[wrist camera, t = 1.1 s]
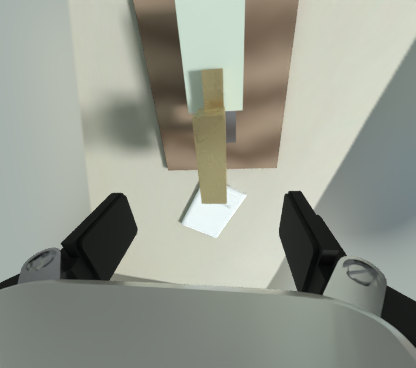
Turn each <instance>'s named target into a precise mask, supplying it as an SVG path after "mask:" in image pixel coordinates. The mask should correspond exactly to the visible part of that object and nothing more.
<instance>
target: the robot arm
mask: <svg viewBox="0 0 416 368" xmlns="http://www.w3.org/2000/svg"><path fill="white" fill-rule="evenodd" d="M136 234H137V226H136V223H135V220H134V217H133V214H132V211H131V208H130V206H129V203H128V200H127V197H126V196H125V195H124V194H123V193H111V194H110V195H109V196H108V197H107V198H106V199H105V200H104V201H103V202H102V203H101V204H100V205H99V206H98V207H97V208H96V209H95V210H94V211H93V212H92V213H91V214H90V215H89V216H88V217H87V218H86V219H85V220H84V221H83V222H82V223H81V224H80V225H79V226H78V227H77V228H76V229H75V230H74V231H73V232H72V233H71V234H70V235H69V236H68V237H67V238H66V239H65V240H64V241H63V242H62V243H61V245H62V246H63V248H62V249H61V250H59V249H58V248H48V249H45V250H43V251H41V252H38V253H37V254H35V255H33V256H32V257H31V258H29V259H28V260H27V261H26V262H25V263H24V265H23V266H22V268H21V272H20V274H18V275H16V276H14V277H11V278H9V279H7V280H5V281H3V282H1V283H0V368H416V301H414V300H412V299H410V298H408V297H407V296H405V295H403V294H401V293H399V292H398V291H396V290H394V289H392V288H390V287H389V286H387V281H386V278H385V276H384V274H383V273H382V272H381V271H380V270H379V269H378V268H377V267H376V266H374V265H373V264H372V263H370V262H368V261H366V260H364V259H362V258H359V257H354V256H347V255H346V254H345V252H344V251H343V249H342V248H341V246H340V245H339V243H338V242H337V240H336V239H335V237H334V236H333V234H332V233H331V231H330V230H329V228H328V227H327V225H326V224H325V222H324V221H323V219H322V218H321V217H320V216H319V215H316V214H315V212H314V211H313V209H312V208H311V206H310V204H309V203H308V201H307V200H306V198H305V197H304V195H303V194H302V192H301V191H289V192H288V194H285V196H284V202H283V208H282V215H281V221H280V227H279V236H280V239H281V242H282V245H283V248H284V251H285V254H286V257H287V260H288V264H289V266H290V270H291V272H292V276H293V279H294V281H295V285H296V288H297V291H287V290H274V289H260V288H244V287H226V286H207V285H188V284H168V283H148V282H126V281H109V280H110V278H111V277H112V275H113V273H114V272H115V270H116V268H117V267H118V265H119V263H120V261H121V260H122V258H123V256H124V255H125V253H126V251H127V249H128V248H129V246H130V244H131V243H132V241H133V239H134V237H135V236H136Z"/></svg>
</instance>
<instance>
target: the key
mask: <svg viewBox="0 0 416 368" xmlns="http://www.w3.org/2000/svg"><path fill="white" fill-rule="evenodd" d="M201 73H202V86H203V99H204V108H199V109H198V110H197V111H196V112H195V114H194V115H193V116H192V123H193V131H194V140H195V149H196V158H197V167H198V176H199V184H200V193H201V202H202V204H227V156H226V113H225V106H224V89H223V68H218V69H207V70H201Z"/></svg>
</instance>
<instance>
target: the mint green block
mask: <svg viewBox="0 0 416 368" xmlns="http://www.w3.org/2000/svg"><path fill="white" fill-rule="evenodd" d="M175 6H176V14H177V22H178V31H179V39H180V47H181V56H182V64H183V72H184V80H185V89H186V97H187V105H188V113H195V112H196V111H197V110H198V109H199V108H204V99H203V86H202V73H201V70H207V69H218V68H223V89H224V106H225V111H238V110H243V72H244V27H245V0H175Z"/></svg>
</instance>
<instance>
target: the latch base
mask: <svg viewBox="0 0 416 368" xmlns="http://www.w3.org/2000/svg"><path fill="white" fill-rule="evenodd" d="M133 1H134V6H135V11H136V16H137V21H138V26H139V30H140V35H141V40H142V45H143V50H144V55H145V60H146V65H147V69H148V74H149V79H150V84H151V89H152V94H153V99H154V104H155V108H156V113H157V118H158V123H159V128H160V133H161V138H162V143H163V147H164V152H165V157H166V162H167V167H168V170H198V167H197V158H196V149H195V140H194V131H193V123H192V116H193V115H194V114H195V113H188V105H187V97H186V89H185V80H184V72H183V64H182V56H181V47H180V39H179V31H178V22H177V14H176V6H175V0H133ZM298 1H299V0H245V27H244V72H243V110H238V111H225V113H226V156H227V169H245V168H277V162H278V154H279V146H280V139H281V131H282V123H283V116H284V108H285V100H286V93H287V85H288V77H289V70H290V62H291V55H292V47H293V39H294V32H295V24H296V16H297V9H298Z"/></svg>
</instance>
